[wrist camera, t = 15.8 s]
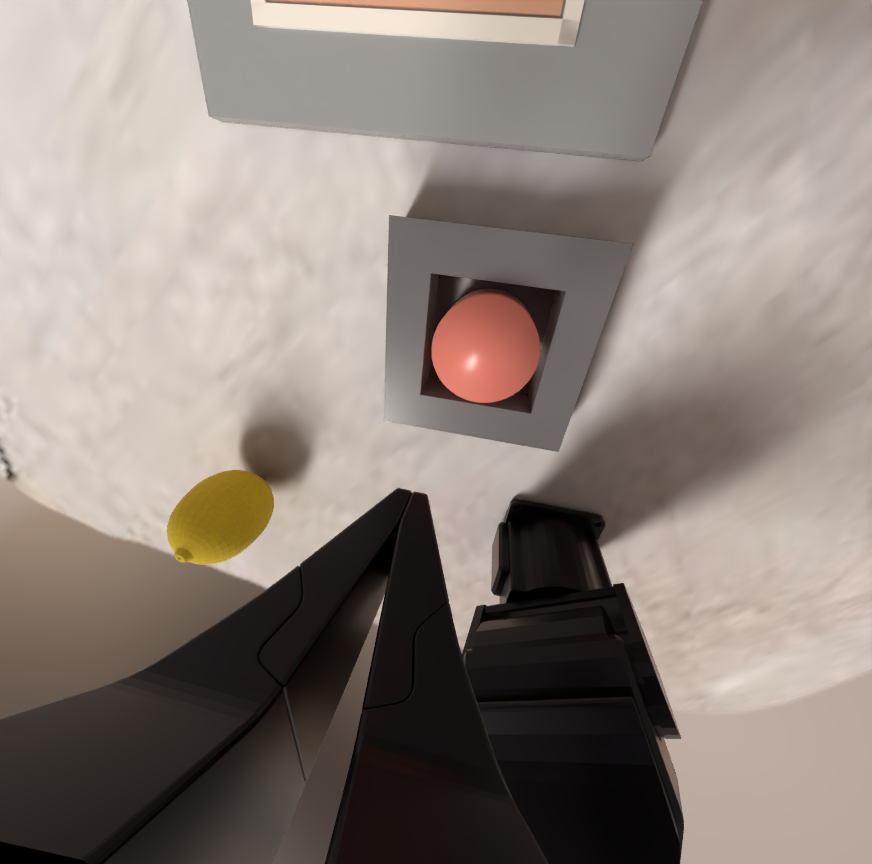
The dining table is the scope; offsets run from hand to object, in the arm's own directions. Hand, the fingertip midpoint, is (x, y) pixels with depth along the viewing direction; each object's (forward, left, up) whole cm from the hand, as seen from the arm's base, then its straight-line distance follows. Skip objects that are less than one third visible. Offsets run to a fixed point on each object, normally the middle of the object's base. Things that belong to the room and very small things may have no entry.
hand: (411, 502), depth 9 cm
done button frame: (-1, -2, -12) cm, 12 cm away
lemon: (+15, +12, -12) cm, 23 cm away
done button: (-1, -2, -12) cm, 12 cm away
